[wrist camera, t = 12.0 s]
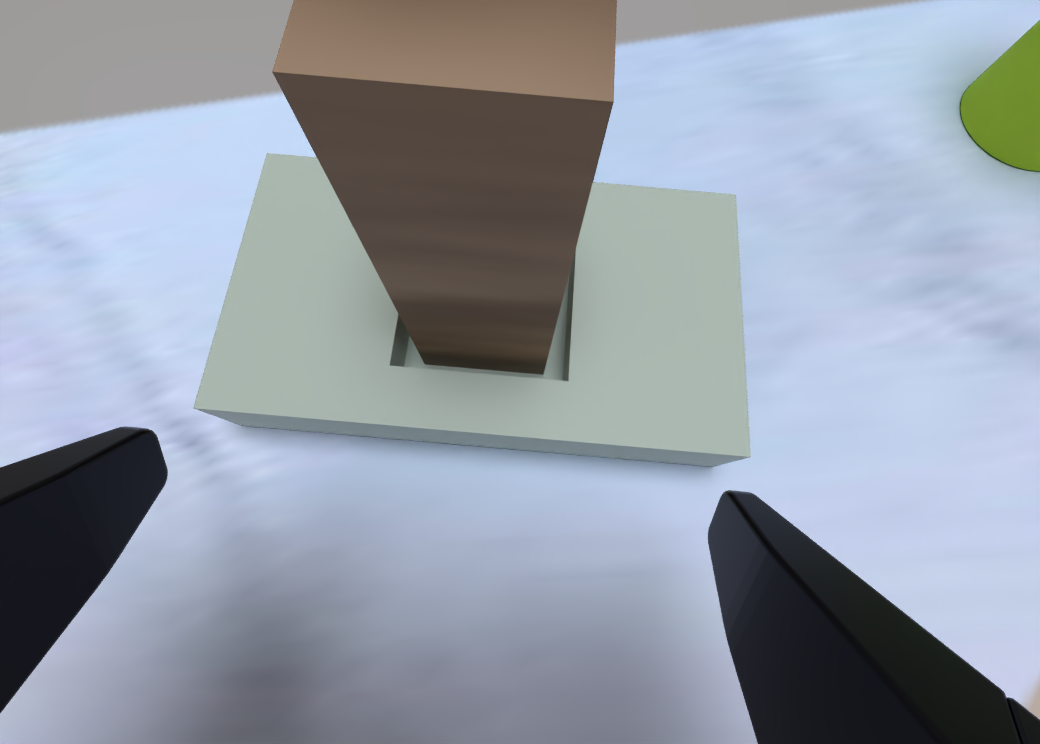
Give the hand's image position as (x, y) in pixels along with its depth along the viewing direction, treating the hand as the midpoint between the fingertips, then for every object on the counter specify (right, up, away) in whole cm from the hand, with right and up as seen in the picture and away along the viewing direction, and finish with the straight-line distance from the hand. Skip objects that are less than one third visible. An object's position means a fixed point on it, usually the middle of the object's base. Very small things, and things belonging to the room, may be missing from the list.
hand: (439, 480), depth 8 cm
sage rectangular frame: (0, +4, +12) cm, 13 cm away
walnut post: (0, +4, +11) cm, 12 cm away
